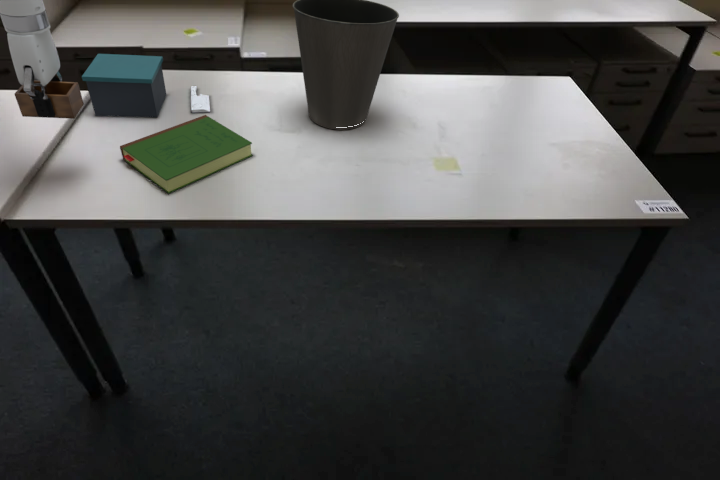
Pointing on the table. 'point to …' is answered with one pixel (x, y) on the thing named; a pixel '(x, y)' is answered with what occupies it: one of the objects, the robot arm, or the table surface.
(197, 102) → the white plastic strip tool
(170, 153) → the hardcover book
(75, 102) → the wooden box
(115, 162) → the table surface
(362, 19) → the waste basket
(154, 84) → the storage bin
